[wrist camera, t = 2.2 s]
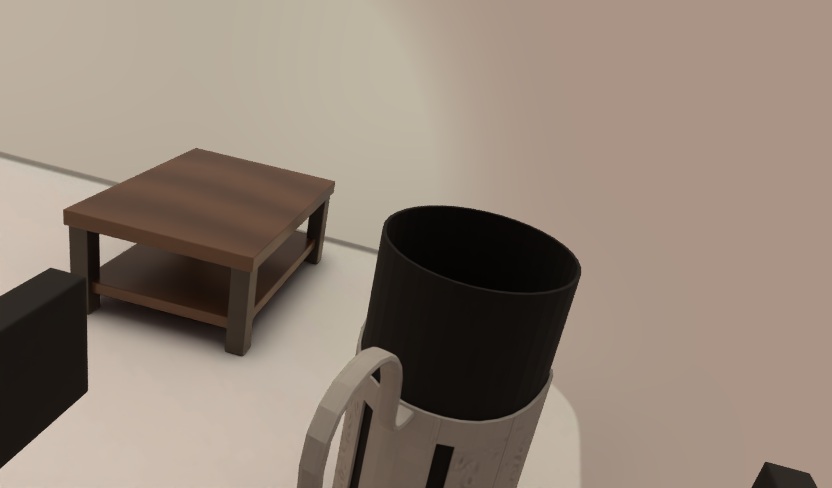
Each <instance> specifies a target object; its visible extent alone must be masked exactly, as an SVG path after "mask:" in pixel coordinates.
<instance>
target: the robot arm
mask: <svg viewBox="0 0 832 488" xmlns="http://www.w3.org/2000/svg"><path fill="white" fill-rule="evenodd" d="M87 391H88V358H87V288H86V277H83V276H79V275H76V274H72V273H68V272H65V271H61V270H57V269H54V268H49V269H47V270H46V271H44V272H42V273H40V274H39V275H37V276H35V277H33V278H32V279H30V280H28V281H26V282H25V283H23V284H21V285H19V286H17V287H16V288H14V289H12V290H10V291H9V292H7V293H5V294H3V295H2V296H0V469H1V468H2V467H3V466H4V465H5V464H6V463H7V462H8V461H10V460H11V459H12V458H13V457H14V456H15V455H16V454H17V453H19V452H20V451H21V450H22V449H23V448H24V447H25V446H26V445H28V444H29V443H30V442H31V441H32V440H33V439H34V438H36V437H37V436H38V435H39V434H40V433H41V432H42V431H43V430H45V429H46V428H47V427H48V426H49V425H50V424H51V423H52V422H54V421H55V420H56V419H57V418H58V417H59V416H60V415H61V414H63V413H64V412H65V411H66V410H67V409H68V408H69V407H70V406H72V405H73V404H74V403H75V402H76V401H77V400H78V399H80V398H81V397H82V396H83V395H84V394H85V393H86V392H87ZM752 488H817V486H816V484H815V482H814V481H813V479H812V477H811V476H810V474H809V473H806V472H802V471H798V470H795V469H791V468H787V467H783V466H780V465H776V464H772V463H768V462H765V463H764V465H763V467H762V469H761V471H760V473H759V475H758V477H757V479H756V480H755V482H754V484H753V486H752Z"/></svg>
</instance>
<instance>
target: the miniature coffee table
mask: <svg viewBox="0 0 832 488" xmlns="http://www.w3.org/2000/svg"><path fill="white" fill-rule="evenodd" d="M334 186H335V181H331V180H327V179H323V178H319V177H315V176H310V175H306V174H302V173H298V172H294V171H289V170H285V169H281V168H277V167H273V166H269V165H265V164H260V163H256V162H252V161H248V160H244V159H239V158H235V157H231V156H227V155H223V154H219V153H215V152H210V151H206V150H202V149H198V148H195V149H193V150H191V151H188V152H186V153H184V154H182V155H180V156H178V157H176V158H174V159H171V160H169V161H167V162H165V163H163V164H160V165H158V166H156V167H154V168H152V169H150V170H148V171H145V172H143V173H141V174H139V175H137V176H135V177H133V178H130V179H128V180H126V181H124V182H122V183H120V184H117V185H115V186H113V187H111V188H109V189H107V190H105V191H102V192H100V193H98V194H96V195H94V196H92V197H89V198H87V199H85V200H83V201H81V202H79V203H77V204H74V205H72V206H70V207H68V208H66V209H64V210H63V217H64V225H68V226H69V241H70V270H71V273H72V274H76V275H79V276H83V277H86V288H87V314H90V313H91V312H93V311H94V310H96V309H97V308H98V307H100V295H104V296H108V297H112V298H115V299H119V300H123V301H127V302H130V303H134V304H138V305H142V306H145V307H149V308H153V309H156V310H160V311H164V312H168V313H171V314H175V315H179V316H183V317H186V318H190V319H194V320H198V321H201V322H205V323H209V324H213V325H216V326H220V327H224V328H227V331H226V344H225V351H226V352H230V353H233V354H237V355H241V356H243V355H244V354H245V352H246V351H247V350H248V349H249V347H250V345H251V334H252V324H253V318H254V316H255V315H256V314H257V313H258V312H259V311H260V310H261V308H262V307H263V306H264V305H265V304H266V303H267V301H268V300H269V299H270V298H271V297H272V296H273V295H274V293H275V292H276V291H277V290H278V289H279V288H280V287H281V285H282V284H283V283H284V282H285V281H286V280H287V279H288V277H289V276H290V275H291V274H292V273H293V272H294V270H295V269H296V268H297V267H298V266H299V265H300V264H301V262H302V261H303V260H304V261H306V262H310V263H314V264H317V263H318V262H319V261H320V260H321V256H322V249H323V242H324V235H325V228H326V220H327V214H328V206H329V199H330V195H331V194H332V193H333V192H334ZM308 217H309V221H308V229H307V233H303V232H299V231H295V230H296V229H297V228H298V227H299V226H300V225H301V224H302V223H303V222H304V221H305V220H306V219H307V218H308ZM99 234H103V235H107V236H111V237H115V238H119V239H122V240H126V241H130V242H134V243H137V244H136V245H134V246H133V247H131V248H129V249H128V250H126V251H125V252H123V253H122V254H120V255H118V256H117V257H115V258H114V259H112V260H110V261H109V262H107V263H106V264H104V265H103V266H101V267H100V250H99Z"/></svg>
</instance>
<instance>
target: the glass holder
mask: <svg viewBox="0 0 832 488" xmlns="http://www.w3.org/2000/svg"><path fill="white" fill-rule="evenodd" d="M580 276H581V266H580V264H579V261H578V259H577V258H576V257H575V255H574V254H573V253H572V252H571V251H570V250H569V249H568V248H567V247H566V246H565V245H563V244H562V243H560V242H559V241H558V240H556V239H555V238H553V237H551V236H550V235H548V234H546V233H544V232H543V231H540V230H538V229H536V228H534V227H532V226H530V225H527V224H525V223H522V222H520V221H517V220H514V219H511V218H508V217H505V216H502V215H498V214H494V213H490V212H486V211H481V210H476V209H471V208H464V207H456V206H420V207H419V206H418V207H412V208H407V209H404V210H401V211H398V212H396V213H394V214H393V215H391V216H390V217H388V219H387V220H386V221H385V222H384V226H383V230H382V235H381V241H380V247H379V252H378V258H377V263H376V269H375V274H374V280H373V286H372V291H371V297H370V302H369V308H368V314H367V318H366V320H365V322H364V324H363V326H362V328H361V331H360V335H359V339H358V344H357V350H356V356H355V357H354V358H353V359H352V360H351V361H350V362H349V363H348V364H347V365H346V366H345V367H344V369H343V370H342V371H341V372H340V373H339V375H338V376H337V377H336V378H335V379H334V381H333V382H332V384H331V386H330V387H329V389H328V390H327V392H326V394H325V395H324V397H323V398H322V400H321V402H320V403H319V405H318V408H317V410H316V412H315V415H314V417H313V420H312V422H311V424H310V427H309V429H308V431H307V434H306V439H305V443H304V447H303V451H302V456H301V460H300V464H299V474H298V484H297V488H322V484H323V475H324V469H325V465H326V461H327V457H328V453H329V449H330V444H331V441H332V438H333V436H334V434H335V431H336V429H337V426H338V424H339V421H340V419H341V417H342V415H343V413H344V411H345V410H346V413H345V418H344V424H343V430H342V436H341V441H340V447H339V453H338V458H337V464H336V470H335V476H334V481H333V487H332V488H516V487H517V484H518V481H519V478H520V475H521V472H522V469H523V466H524V463H525V460H526V457H527V454H528V451H529V448H530V445H531V442H532V439H533V436H534V433H535V429H536V426H537V423H538V420H539V417H540V414H541V411H542V408H543V405H544V402H545V399H546V396H547V393H548V390H549V387H550V384H551V381H552V378H553V370H552V369H551V365H552V362H553V359H554V356H555V353H556V350H557V347H558V344H559V341H560V338H561V334H562V331H563V329H564V325H565V322H566V319H567V316H568V312H569V310H570V307H571V304H572V301H573V298H574V295H575V291H576V289H577V285H578V282H579V279H580Z"/></svg>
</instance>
